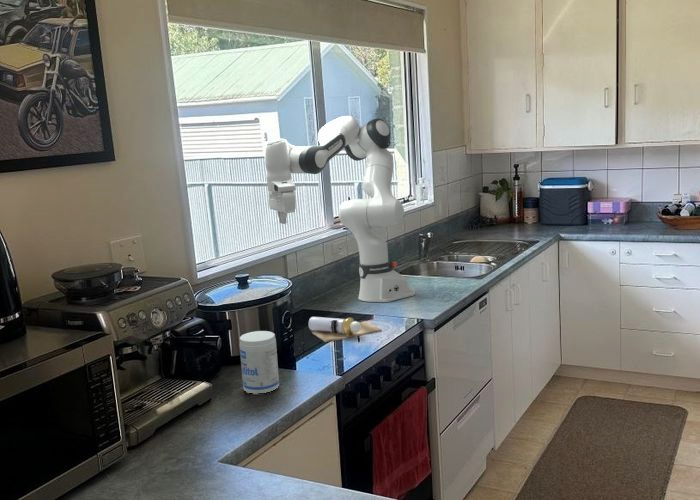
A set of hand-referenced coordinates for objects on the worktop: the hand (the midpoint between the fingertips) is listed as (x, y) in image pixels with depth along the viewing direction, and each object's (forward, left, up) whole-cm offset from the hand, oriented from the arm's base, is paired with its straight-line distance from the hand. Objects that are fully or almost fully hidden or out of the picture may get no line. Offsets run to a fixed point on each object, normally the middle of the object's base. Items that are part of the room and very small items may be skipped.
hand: (283, 223), depth 250 cm
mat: (-8, +33, -34) cm, 48 cm away
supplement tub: (+31, +66, -34) cm, 81 cm away
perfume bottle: (+2, +25, -31) cm, 40 cm away
